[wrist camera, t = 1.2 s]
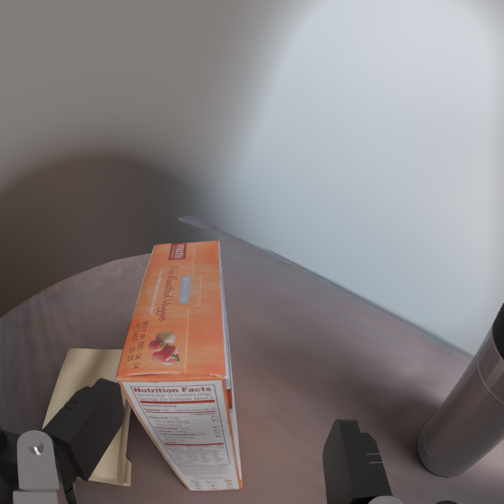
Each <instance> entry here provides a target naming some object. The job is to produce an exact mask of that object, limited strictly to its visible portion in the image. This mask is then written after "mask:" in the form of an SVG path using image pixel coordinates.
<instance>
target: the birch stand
mask: <svg viewBox="0 0 504 504" xmlns="http://www.w3.org/2000/svg"><path fill="white" fill-rule="evenodd" d="M121 354H122V350H117V349H78V348H69V350H68V353H67V355H66V358H65V361H64V363H63V366H62V369H61V371H60V374H59V377H58V380H57V383H56V386H55V389H54V392H53V395H52V398H51V401H50V404H49V407H48V411H47V414H46V417H45V421H44V424H43V428H44V427H45V426H46V425H47V424H48V423H49V421H50V420H51V419H52V418H53V417H54V416H55V415H56V414H57V412H58V411H59V410H60V409H61V408H62V407H64V405H65V403H66V402H67V401H69V399H70V398H71V397H72V396H73V395H74V393H75V392H76V391H78V390H80V389H82V388H84V387H86V386H89V387H92V386H93V385H94V384H95V383H96V381H97V380H98V379H100V378H104V379H107V380H110V381H113V382H116V383H117V381H116V374H117V370H118V366H119V362H120V358H121ZM121 393H122V399H123V404H124V410H125V417H124V421H123V424H122V426H121V427H120V429H119V431H118V432H117V434H116V435H115V437H114V439H113V440H112V442H111V444H110V445H109V447H108V448H107V450H106V452H105V453H104V455H103V457H102V458H101V460H100V462H99V463H98V465H97V466H96V468H95V470H94V471H93V473H92V475H91V476H90V478H89V481H95V482H101V483H107V484H114V485H122V486H130V482H131V465H132V463H131V462H130V461H129V460H128V459H127V458H126V448H127V438H128V429H129V420H130V413H131V406H130V404H129V402H128V400H127V398H126V397H125V395H124V393H123V391H122V390H121ZM43 428H42V429H43ZM77 478H79V477H77ZM79 479H81V478H79Z"/></svg>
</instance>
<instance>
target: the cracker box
mask: <svg viewBox="0 0 504 504" xmlns="http://www.w3.org/2000/svg"><path fill="white" fill-rule="evenodd" d="M116 381H117V383H119V384H120V387H121V390H122V391H123V393H124V395H125V397H126V398H127V400H128V402H129V404H130V406H131V407H132V409H133V411H134V413H135V414H136V416H137V417H138V419H139V421H140V422H141V424H142V425H143V427H144V428H145V430H146V432H147V433H148V435H149V436H150V438H151V439H152V441H153V442H154V444H155V445H156V447H157V448H158V450H159V451H160V452H161V454H162V455H163V457H164V458H165V460H166V461H167V462H168V464H169V465H170V466H171V468H172V469H173V471H174V472H175V473H176V475H177V476H178V477H179V478H180V480H181V481H182V482H183V483H184V485H185V486H186V487H187V488H188V490H189V491H218V490H236V489H243V482H242V472H241V461H240V451H239V440H238V430H237V420H236V410H235V400H234V389H233V378H232V367H231V356H230V345H229V334H228V322H227V311H226V301H225V290H224V280H223V271H222V262H221V252H220V242H219V241H207V242H194V243H172V244H160V245H155V246H154V248H153V252H152V254H151V257H150V260H149V263H148V266H147V269H146V273H145V276H144V279H143V282H142V285H141V289H140V292H139V295H138V298H137V302H136V305H135V309H134V313H133V316H132V319H131V322H130V325H129V328H128V332H127V335H126V339H125V343H124V346H123V350H122V354H121V358H120V362H119V366H118V370H117V374H116Z"/></svg>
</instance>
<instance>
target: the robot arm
mask: <svg viewBox="0 0 504 504" xmlns="http://www.w3.org/2000/svg"><path fill="white" fill-rule="evenodd" d="M124 417H125V410H124V404H123V399H122V393H121V387H120V384H119V383H116V382H113V381H110V380H107V379H104V378H100V379H98V380H97V381H96V383H95V384H94V385H93V386H92V387H89V386H86V387H84V388H82V389H80V390H78V391H76V392H75V393H74V395H73V396H72V397H71V398H70V399H69V401H67V402H66V403H65V405H64V407H62V408H61V409H60V410H59V411H58V412H57V414H56V415H55V416H54V417H53V418H52V419H51V420H50V421H49V423H48V424H47V425H46V426H45V427H44V428H43V429H42V430H41V431H37V430H32V431H28V432H25V433H24V434H22V435H18V434H14V433H11V432H7V431H4V430H3V429H2V427H1V425H0V504H12V503H13V502H14V504H80V503H79V499H78V495H77V491H76V487H75V484H74V482H75V480H76V479H77V477H79V478H81V479H83V480H85V481H88V480H89V478H90V476H91V475H92V473H93V471H94V470H95V468H96V466H97V465H98V463H99V462H100V460H101V458H102V457H103V455H104V453H105V452H106V450H107V448H108V447H109V445H110V444H111V442H112V440H113V439H114V437H115V435H116V434H117V432H118V431H119V429H120V427H121V426H122V424H123V421H124ZM503 439H504V303H503V305H502V307H501V309H500V311H499V313H498V315H497V317H496V319H495V321H494V323H493V325H492V326H491V328H490V330H489V332H488V334H487V336H486V338H485V339H484V341H483V343H482V345H481V346H480V348H479V350H478V352H477V353H476V355H475V357H474V358H473V360H472V361H471V363H470V365H469V366H468V368H467V369H466V371H465V372H464V374H463V375H462V377H461V378H460V380H459V381H458V383H457V384H456V386H455V387H454V389H453V390H452V391H451V393H450V394H449V395H448V397H447V398H446V400H445V401H444V402H443V404H442V405H441V406H440V407H439V409H438V410H437V411H436V412H435V414H434V415H433V416H432V417H431V419H430V420H429V421H428V422H427V424H426V425H425V426H424V427H423V429H422V430H421V432H420V434H419V438H418V444H417V448H418V454H419V457H420V460H421V461H422V463H423V465H424V466H425V467H426V468H427V469H428V470H429V471H431V472H432V473H434V474H436V475H438V476H442V477H453V476H457V475H459V474H461V473H463V472H465V471H466V470H467V469H469V468H470V467H471V466H473V465H474V464H475V463H476V462H478V461H479V460H480V459H481V458H483V457H484V456H485V455H486V454H488V453H489V452H490V451H491V450H492V449H493V448H494V447H496V446H497V445H498V444H499V443H500V442H501V441H502V440H503ZM323 468H324V476H325V485H326V495H327V504H403V502H401V501H400V500H399V499H397V498H395V497H393V495H392V493H391V490H390V486H389V483H388V479H387V476H386V473H385V469H384V466H383V463H382V459H381V456H380V455H379V450H378V447H377V443H376V441H375V440H374V439H373V438H372V437H371V436H370V434H369V433H360V429H359V425H358V422H357V421H356V420H335V422H334V424H333V426H332V428H331V431H330V433H329V436H328V438H327V440H326V443H325V445H324V449H323ZM436 504H457V503H455V502H452V501H441V502H438V503H436Z"/></svg>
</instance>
